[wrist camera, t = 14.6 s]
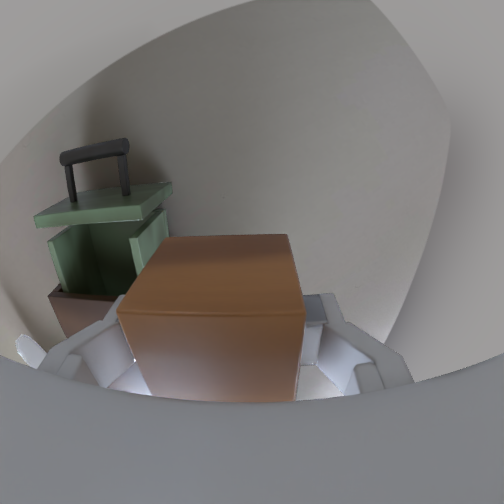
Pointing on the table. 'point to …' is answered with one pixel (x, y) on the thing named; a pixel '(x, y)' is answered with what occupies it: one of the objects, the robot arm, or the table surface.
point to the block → (218, 319)
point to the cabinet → (85, 314)
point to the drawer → (104, 226)
